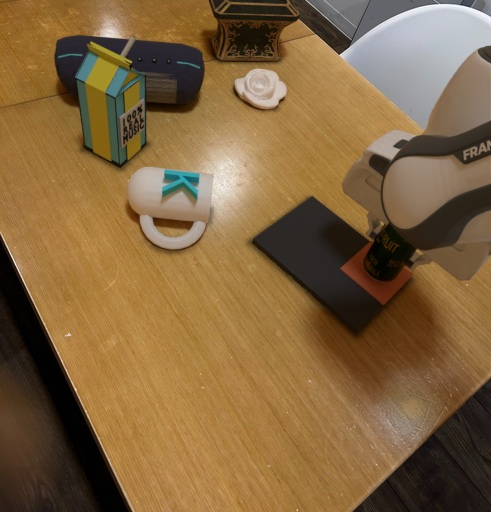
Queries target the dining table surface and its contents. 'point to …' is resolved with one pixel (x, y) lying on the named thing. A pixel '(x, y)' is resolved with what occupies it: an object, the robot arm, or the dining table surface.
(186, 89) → the portable speaker
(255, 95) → the rose
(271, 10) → the decorative box
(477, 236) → the robot arm
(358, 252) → the mat
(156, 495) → the dining table surface
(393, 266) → the beer can
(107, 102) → the carton
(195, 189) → the mug
